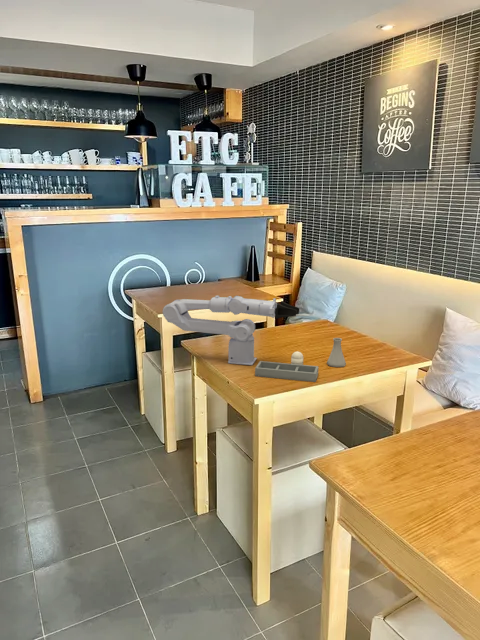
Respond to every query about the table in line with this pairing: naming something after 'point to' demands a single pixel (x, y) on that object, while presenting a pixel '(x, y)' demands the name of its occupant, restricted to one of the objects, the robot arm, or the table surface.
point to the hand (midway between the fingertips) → (297, 312)
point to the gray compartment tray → (287, 371)
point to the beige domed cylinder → (297, 358)
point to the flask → (336, 355)
